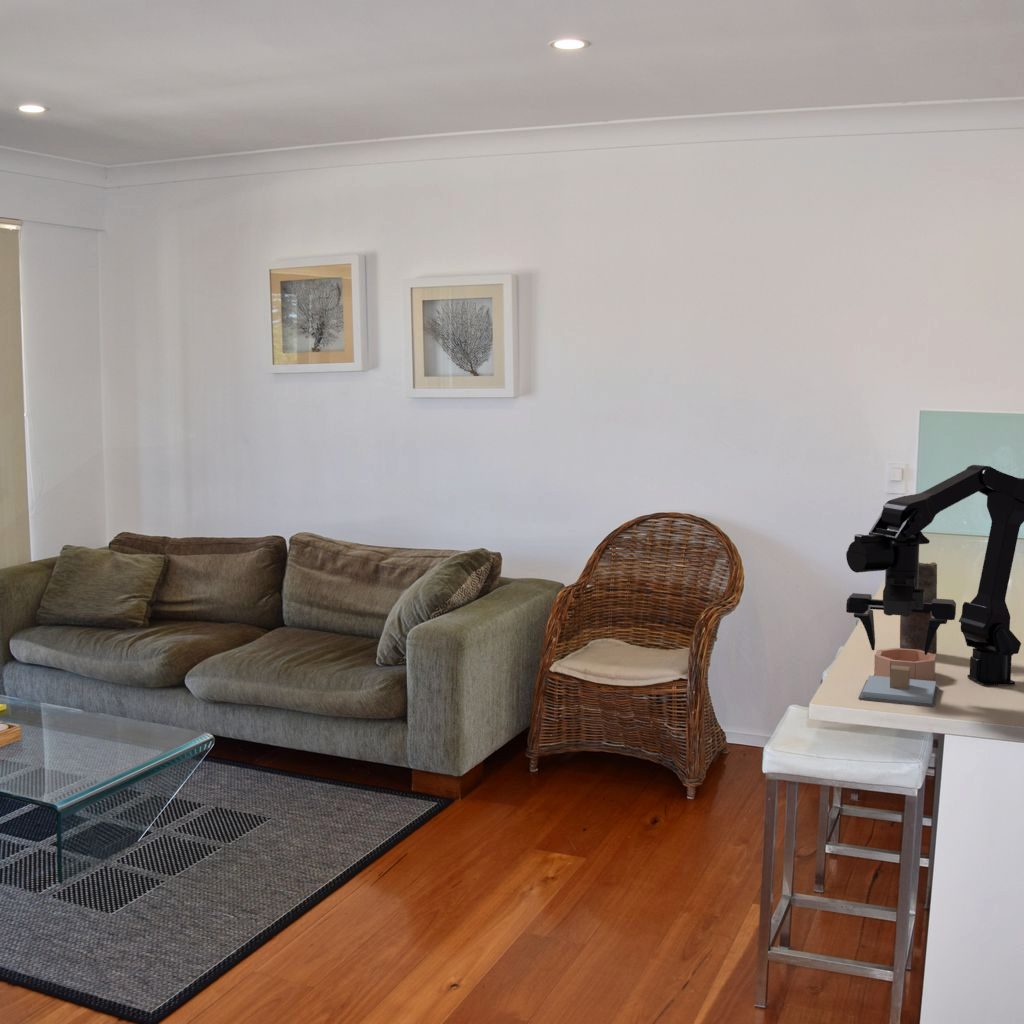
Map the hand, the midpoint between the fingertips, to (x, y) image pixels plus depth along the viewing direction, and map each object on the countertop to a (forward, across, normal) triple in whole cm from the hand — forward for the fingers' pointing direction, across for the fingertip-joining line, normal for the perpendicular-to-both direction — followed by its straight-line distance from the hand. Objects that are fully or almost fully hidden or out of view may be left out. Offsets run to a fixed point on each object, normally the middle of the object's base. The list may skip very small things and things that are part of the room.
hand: (899, 652), depth 205 cm
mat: (+8, 0, 0) cm, 8 cm away
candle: (+8, +1, +32) cm, 33 cm away
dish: (+8, 0, +14) cm, 16 cm away
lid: (+8, 0, 0) cm, 8 cm away
